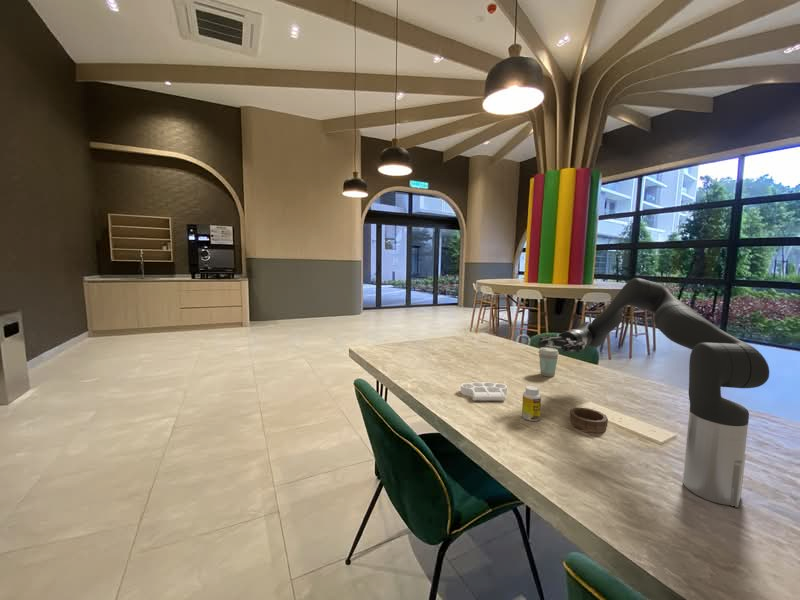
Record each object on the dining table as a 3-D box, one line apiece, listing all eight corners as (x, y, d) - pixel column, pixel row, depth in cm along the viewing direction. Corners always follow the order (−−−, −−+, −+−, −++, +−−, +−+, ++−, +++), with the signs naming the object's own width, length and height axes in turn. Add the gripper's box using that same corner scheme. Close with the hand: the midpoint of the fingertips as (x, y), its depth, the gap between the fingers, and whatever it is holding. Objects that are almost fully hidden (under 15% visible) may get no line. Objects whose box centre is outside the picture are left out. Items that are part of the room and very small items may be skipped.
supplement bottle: (533, 423, 106) (534, 392, 105) (518, 416, 110) (519, 386, 109) (543, 419, 109) (545, 388, 108) (528, 412, 113) (530, 383, 112)
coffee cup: (539, 370, 159) (540, 346, 158) (558, 373, 155) (560, 348, 153) (536, 375, 152) (537, 350, 150) (556, 379, 147) (558, 352, 146)
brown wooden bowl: (611, 426, 104) (612, 415, 103) (598, 436, 97) (599, 425, 97) (577, 415, 111) (578, 405, 111) (564, 424, 105) (564, 413, 105)
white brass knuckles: (464, 403, 123) (458, 388, 137) (513, 403, 122) (502, 388, 137) (465, 394, 122) (458, 380, 137) (514, 394, 122) (502, 380, 137)
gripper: (554, 327, 130) (532, 332, 120) (593, 333, 119) (573, 339, 109) (553, 346, 131) (531, 353, 121) (592, 353, 120) (572, 361, 110)
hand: (551, 346), depth 115 cm, fingers open, 8 cm apart
